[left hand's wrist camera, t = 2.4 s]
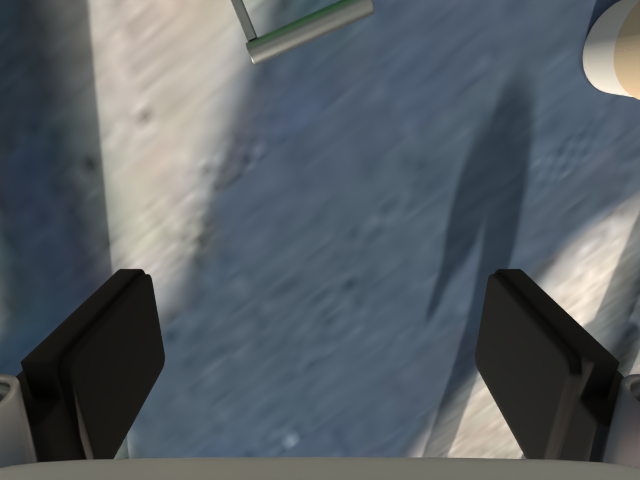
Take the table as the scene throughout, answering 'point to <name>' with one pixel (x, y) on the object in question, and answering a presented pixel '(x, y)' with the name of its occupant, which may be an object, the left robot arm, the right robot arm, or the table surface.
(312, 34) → the drawer
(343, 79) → the table surface
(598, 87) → the coffee cup
